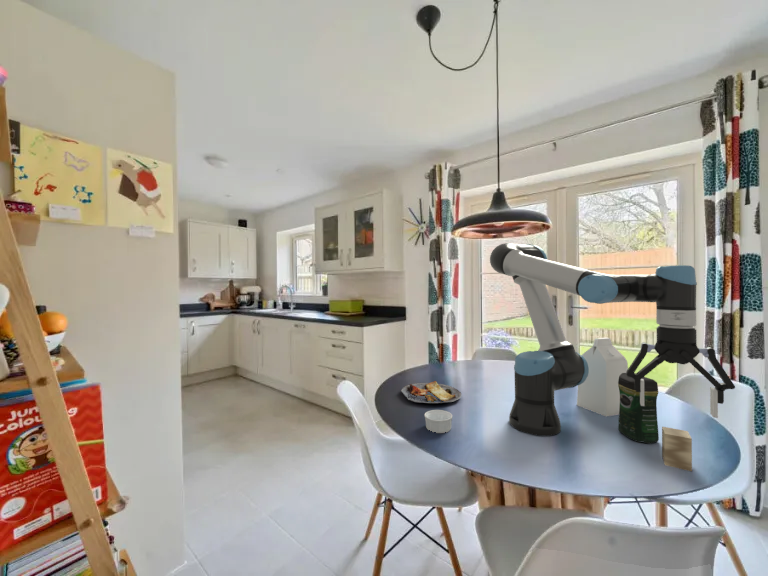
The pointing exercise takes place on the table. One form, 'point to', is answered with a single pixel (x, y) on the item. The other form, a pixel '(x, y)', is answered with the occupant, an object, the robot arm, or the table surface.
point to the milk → (602, 378)
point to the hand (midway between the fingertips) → (676, 410)
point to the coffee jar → (638, 410)
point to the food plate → (435, 388)
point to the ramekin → (438, 421)
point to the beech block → (677, 448)
